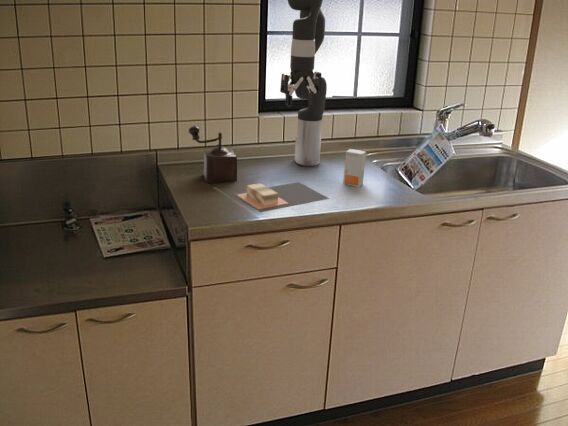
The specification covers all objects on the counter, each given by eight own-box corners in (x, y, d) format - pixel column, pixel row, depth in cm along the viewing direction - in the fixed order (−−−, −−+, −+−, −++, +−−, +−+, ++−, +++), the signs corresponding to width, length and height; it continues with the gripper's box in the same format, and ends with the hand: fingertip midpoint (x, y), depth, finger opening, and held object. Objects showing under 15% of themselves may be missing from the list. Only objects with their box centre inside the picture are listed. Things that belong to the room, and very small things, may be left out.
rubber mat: (232, 195, 196) (232, 193, 196) (298, 183, 209) (298, 181, 209) (260, 213, 182) (260, 211, 182) (329, 200, 196) (329, 197, 195)
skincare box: (342, 184, 211) (345, 151, 206) (347, 181, 214) (350, 148, 210) (358, 187, 208) (362, 154, 204) (363, 184, 212) (366, 151, 207)
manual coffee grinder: (231, 172, 218) (232, 123, 211) (237, 182, 208) (238, 131, 201) (188, 174, 214) (187, 124, 207) (192, 184, 204) (191, 132, 197)
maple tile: (278, 203, 189) (278, 193, 188) (264, 205, 186) (264, 196, 185) (260, 192, 197) (260, 183, 196) (246, 194, 195) (246, 185, 194)
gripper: (290, 56, 182) (288, 109, 189) (328, 54, 190) (324, 106, 196) (277, 53, 188) (275, 105, 194) (314, 51, 196) (311, 101, 202)
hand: (300, 105), depth 195 cm, fingers open, 8 cm apart
